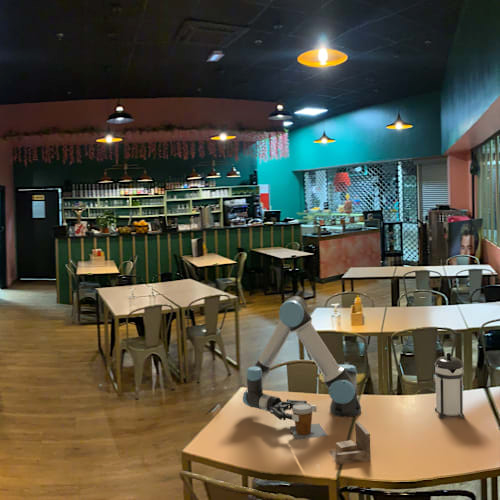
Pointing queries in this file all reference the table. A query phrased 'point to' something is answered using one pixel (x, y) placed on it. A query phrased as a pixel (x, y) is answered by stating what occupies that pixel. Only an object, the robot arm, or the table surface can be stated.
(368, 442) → the offcut rack
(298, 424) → the disposable coffee cup
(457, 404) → the coffee press
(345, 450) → the offcut stack
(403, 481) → the table surface
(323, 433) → the slate mat
